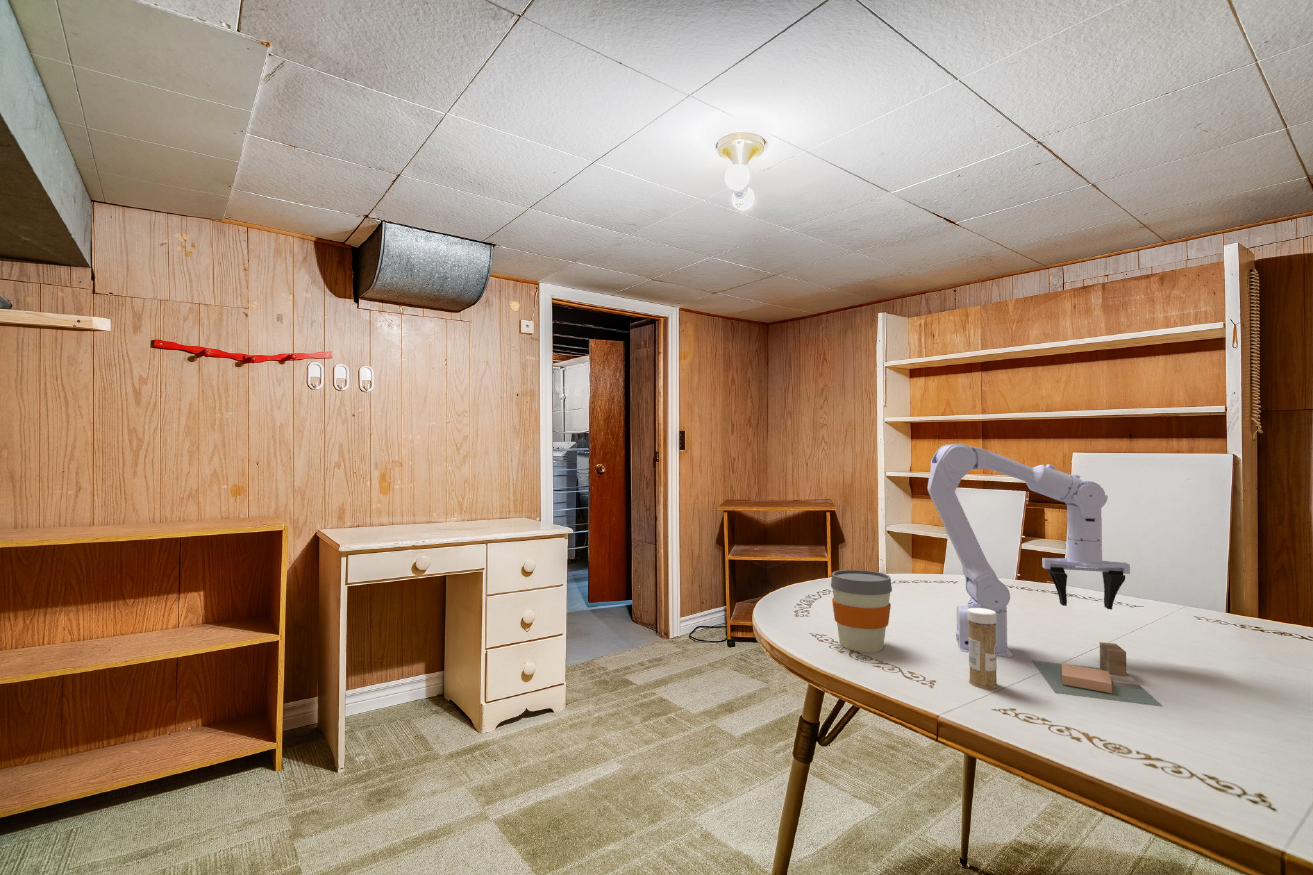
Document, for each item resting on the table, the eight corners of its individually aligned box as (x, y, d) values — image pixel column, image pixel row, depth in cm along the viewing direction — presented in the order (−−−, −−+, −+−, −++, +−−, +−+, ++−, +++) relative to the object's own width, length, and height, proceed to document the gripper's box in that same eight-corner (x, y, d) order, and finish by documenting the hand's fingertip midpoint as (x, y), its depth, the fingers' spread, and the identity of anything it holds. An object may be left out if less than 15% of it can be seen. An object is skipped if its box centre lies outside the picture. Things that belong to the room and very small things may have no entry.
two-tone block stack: (1095, 667, 113) (1095, 641, 114) (1120, 670, 112) (1120, 644, 112) (1112, 685, 105) (1112, 656, 105) (1140, 688, 104) (1139, 659, 104)
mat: (1055, 695, 102) (1055, 692, 102) (1031, 662, 117) (1031, 660, 117) (1163, 708, 96) (1163, 706, 96) (1123, 672, 112) (1123, 670, 112)
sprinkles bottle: (1000, 692, 103) (999, 614, 103) (971, 689, 104) (970, 612, 104) (994, 682, 107) (993, 608, 107) (966, 679, 108) (965, 605, 109)
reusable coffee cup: (892, 658, 120) (891, 583, 120) (828, 650, 124) (827, 578, 125) (892, 640, 131) (892, 572, 132) (833, 633, 136) (833, 567, 136)
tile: (1061, 673, 111) (1062, 685, 105) (1061, 663, 111) (1062, 675, 105) (1108, 681, 107) (1112, 694, 101) (1108, 671, 107) (1111, 683, 101)
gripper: (1048, 540, 120) (1049, 607, 119) (1135, 544, 114) (1137, 614, 114) (1039, 535, 126) (1040, 599, 126) (1121, 539, 121) (1123, 606, 121)
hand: (1085, 606), depth 120 cm, fingers open, 7 cm apart
